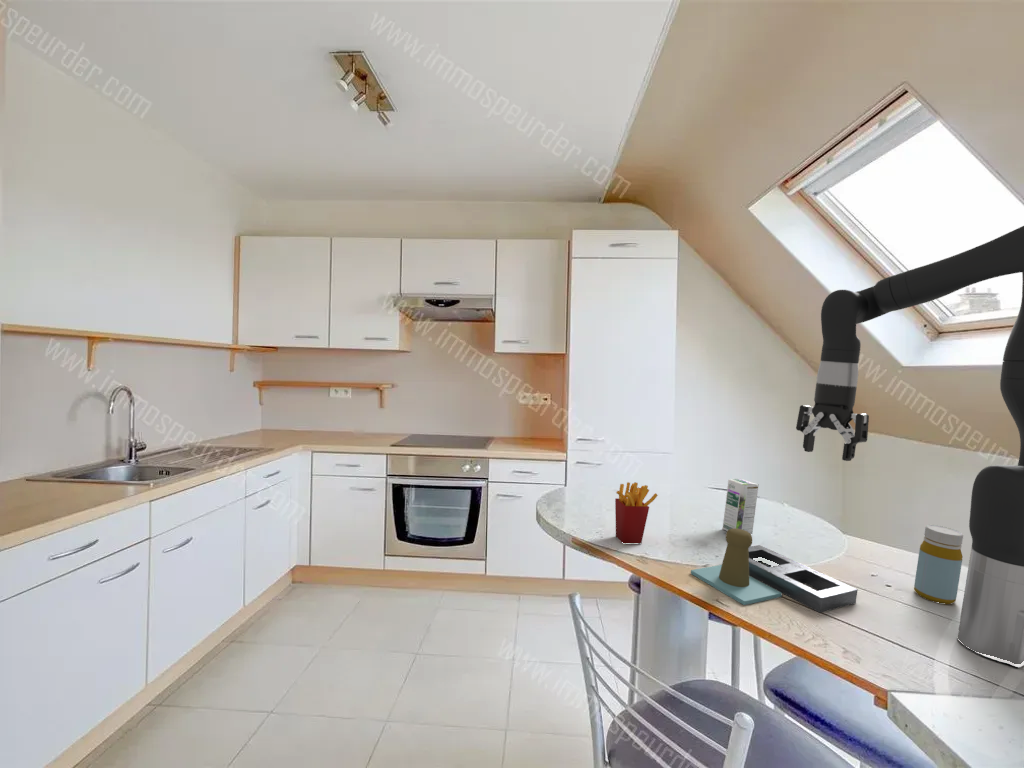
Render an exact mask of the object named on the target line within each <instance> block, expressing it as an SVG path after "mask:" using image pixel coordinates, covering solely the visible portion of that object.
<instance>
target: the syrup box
mask: <svg viewBox="0 0 1024 768" xmlns="http://www.w3.org/2000/svg"><path fill="white" fill-rule="evenodd" d="M726 489H727V490H726V497H725V505H724V506H725V507H724V512H723V513H724V515H723V522H722V530H723V531H725V532H727V531H728V530H729V529H732V528H737V529H742V530H745V531H747V532H749V533H750V534H752V535H753V531H754V523H755V516H756V510H757V509H756V507H757V499H758V493H759V492H758V491H759V484H758V483H754V482H752V481H749V480H746V479H743V478H729V479H728V481H727V487H726Z"/></svg>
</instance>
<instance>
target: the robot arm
mask: <svg viewBox="0 0 1024 768" xmlns="http://www.w3.org/2000/svg"><path fill="white" fill-rule="evenodd" d="M1018 273H1021V274H1022V277H1021V278H1022V286H1021V287H1022V288H1021V289H1022V291H1021V302H1020V308H1019V311H1018V315H1017V317H1016V320H1015V322H1014V324H1013V326H1012V328H1011V331H1010V334H1009V336H1008V339H1007V343H1006V346H1005V349H1004V353H1003V357H1002V358H1003V359H1002V364H1001V373H1000V379H999V380H1000V382H999V385H1000V386H999V389H1000V394H1001V397H1002V399H1003V402H1004V403H1005V405H1006V407H1007V410H1008V411H1009V413H1010V416H1011V417H1012V419H1013V421H1014V423H1015V425H1016V428H1017V430H1018V434H1019V441H1020V443H1019V444H1020V446H1019V447H1020V448H1019V450H1020V451H1019V457H1018V458H1019V459H1018V463H1017V465H1010V464H993V465H992V464H991V465H988V466H986V467H984V468H982V469H981V470H980V471H979V472H978V473H977V475H976V477H975V479H974V481H973V484H972V491H971V495H970V497H971V498H970V499H971V500H970V510H969V512H970V513H969V521H968V522H969V524H968V527H969V533H970V536H971V548H970V549H971V550H970V554H969V555H970V556H969V560H968V569H967V573H966V579H965V587H964V593H963V598H962V599H963V600H962V606H961V612H960V619H959V624H958V630H957V637H958V638H957V640H958V639H959V640H960V641H961V642H962V643H963V644H964V645H965V646H967V647H969V648H970V649H972V650H974V651H976V652H979V653H982V654H986V655H990V656H994V657H997V658H1000V659H1003V660H1007V661H1010V662H1012V663H1014V664H1021V663H1022V662H1023V661H1024V225H1022V226H1020V227H1018V228H1016V229H1013V230H1012V231H1009V232H1007V233H1005V234H1003V235H1001V236H999V237H997V238H994V239H992V240H990V241H986V242H984V243H982V244H980V245H978V246H975V247H973V248H970V249H968V250H965V251H963V252H960V253H958V254H955V255H954V254H953V255H952V256H949V257H946V258H943V259H940V260H937V261H933V262H932V263H929V264H925V265H922V266H919V267H915V268H912V269H910V270H907V271H903V272H900V273H897V274H894V275H891V276H887V277H885V278H881V280H878V281H877V282H876V283H875V285H872V286H870V287H868V288H865V289H861V290H859V291H852V290H850V289H837V290H834V291H832V292H830V293H829V294H828V295H827V296H826V297H825V299H824V300H823V303H822V306H821V312H820V323H821V325H820V326H821V335H822V346H821V354H820V361H819V366H818V369H817V375H816V384H815V391H814V398H813V401H814V405H813V406H811V405H809V404H807V405H806V404H802V405H800V406H799V409H798V415H797V420H796V427H795V429H796V431H800V432H801V433H802V434H803V442H802V448H803V449H804V450H803V451H805V452H807V453H811V452H813V451H814V446H815V441H816V440H815V439H816V435H815V434H816V433H817V432H818V431H819V430H821V429H830V430H833V431H837V432H838V434H839V435H840V436H842V439H843V440H844V443H843V450H842V455H841V456H842V458H841V460H842V461H846V462H849V461H850V462H851V461H852V459H854V458H855V454H856V446H857V445H858V444H860V443H866V442H867V441H868V434H869V420H870V417H869V416H870V415H869V414H867V413H854V409H853V408H854V406H855V401H856V396H857V386H858V380H859V361H860V354H861V340H860V338H859V337H858V336H857V324H862V323H865V322H868V321H870V320H873V319H876V318H879V317H882V316H883V315H886V314H888V313H891V312H894V311H901V310H903V309H907V308H911V307H914V306H918V305H922V304H925V303H929V302H931V301H932V302H933V301H934V300H935V301H936V300H937V299H940V298H944V297H945V296H948V295H951V294H952V293H955V292H956V291H959V290H961V289H964V288H967V287H969V286H971V285H975V284H977V283H981V282H984V281H986V280H987V281H988V280H990V279H994V278H998V277H999V278H1000V277H1002V276H1007V275H1014V274H1018ZM811 415H813V417H814V418H813V419H812V420H811V419H810V417H811ZM810 420H811V421H810ZM851 421H853V423H854V424H855V426H854V428H853V426H852V425H851V424H850V422H851ZM965 646H964V647H965Z"/></svg>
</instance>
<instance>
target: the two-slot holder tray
mask: <svg viewBox="0 0 1024 768" xmlns="http://www.w3.org/2000/svg"><path fill="white" fill-rule="evenodd" d="M748 549H749V576H751V577H752V578H754V579H756V580H758V581H760V582H762V583H764V584H766V585H768V586H770V587H771V588H773V589H775V590H777V591H779V592H781V593H782V595H785V596H787V597H789V598H791V599H793V600H794V601H796V602H798V603H801V604H802V605H804V606H806V607H808V608H810V609H812V610H813V611H816V612H817V613H819V614H821V613H824V612H828V611H832V610H835V609H836V610H837V609H839V608H844V607H848V606H850V605H855V604H857V598H858V589H857V588H855V587H853V586H850V585H848V584H846V583H845V582H843V581H841V580H838V579H835V578H834V577H831V576H829V575H827V574H825V573H822V572H821V571H817V570H816V569H813V568H811V567H809V566H807V565H805V564H803V563H800V562H799V561H797V560H794V559H791V558H789V557H787V556H785V555H782V554H780V553H778V552H776V551H774V550H771V549H769V548H768V547H765V546H763V545H761V544H758V545H751V546H750V547H749V548H748ZM758 557H762V558H765V559H767V560H770V561H773V562H775V563H777V564H779V565H778V566H773V567H771V566H768V565H766V564H764V563H762V562H757V561H755V560H753V558H758ZM813 588H815V589H813Z"/></svg>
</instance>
